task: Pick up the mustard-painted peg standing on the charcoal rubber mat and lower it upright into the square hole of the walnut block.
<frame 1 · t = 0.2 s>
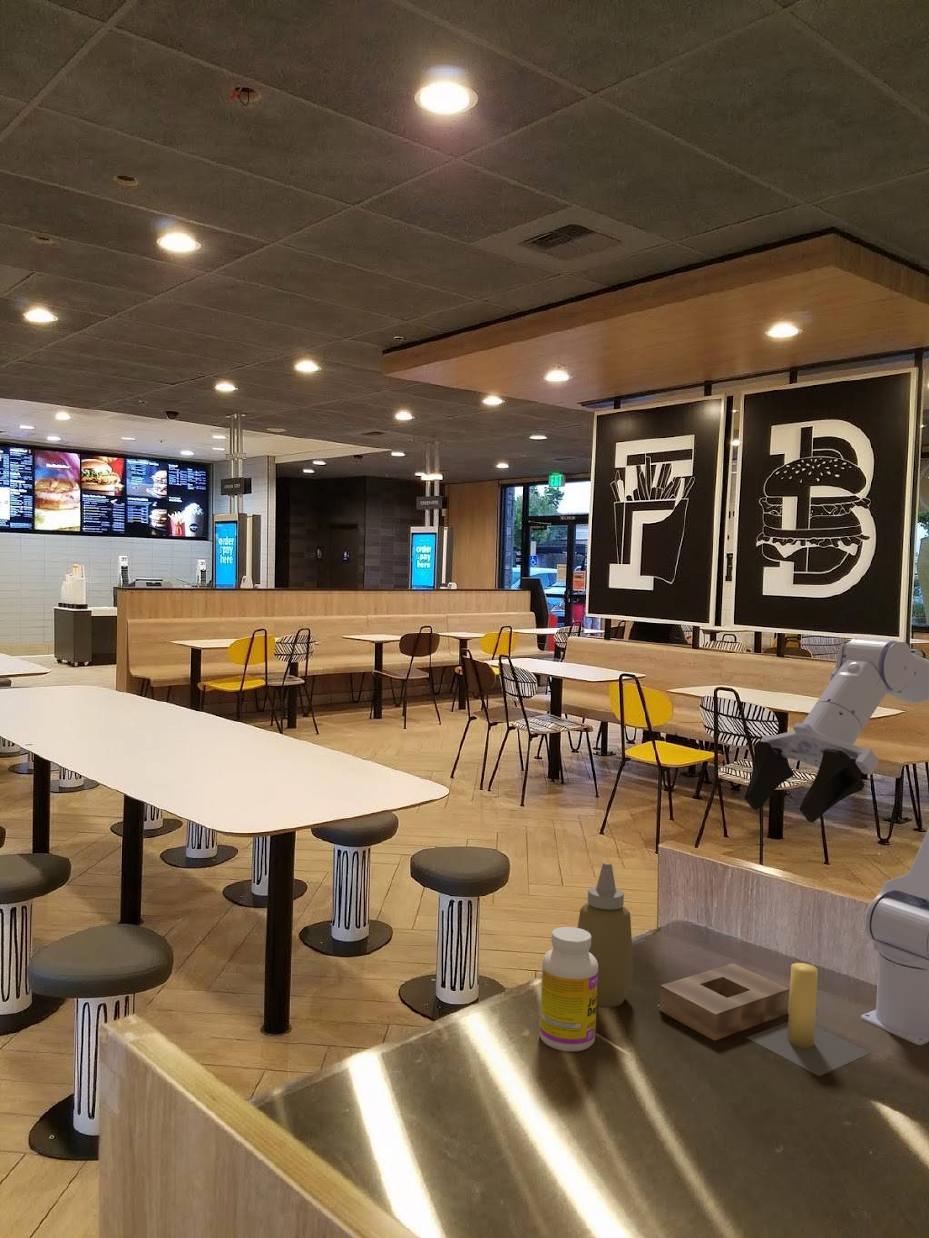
hand: (777, 809, 100), 31 cm above the table, tool tilted 45°, fingers open, 7 cm apart
squeeze bottle: (601, 1000, 121), on the table
supplement bottle: (566, 1041, 110), on the table
walnut block: (723, 1013, 118), on the table
peg: (800, 1041, 111), resting on mat
mat: (807, 1047, 110), on the table
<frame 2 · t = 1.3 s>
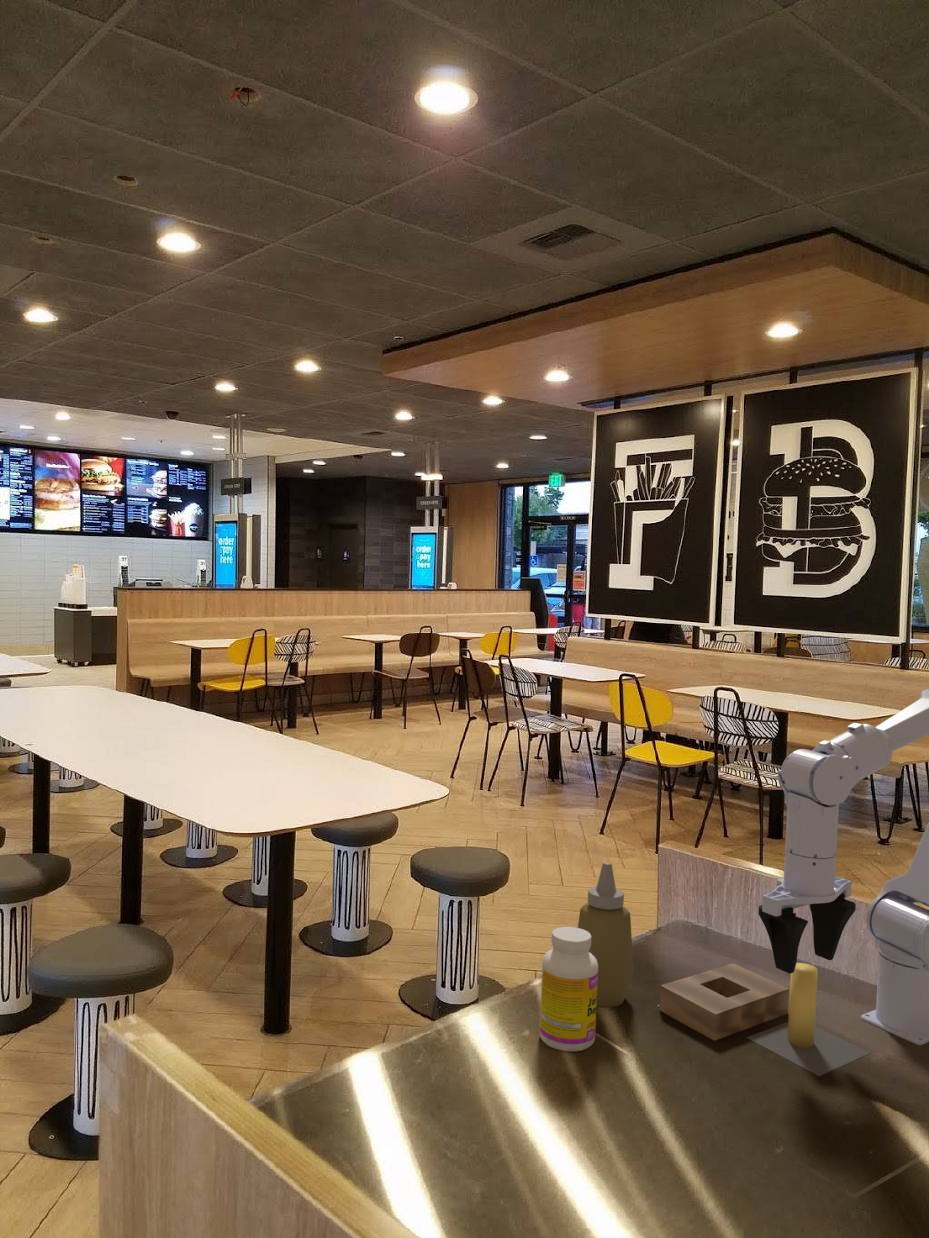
hand: (804, 963, 110), 10 cm above the table, tool pointing down, fingers open, 7 cm apart
nothing on the table moved.
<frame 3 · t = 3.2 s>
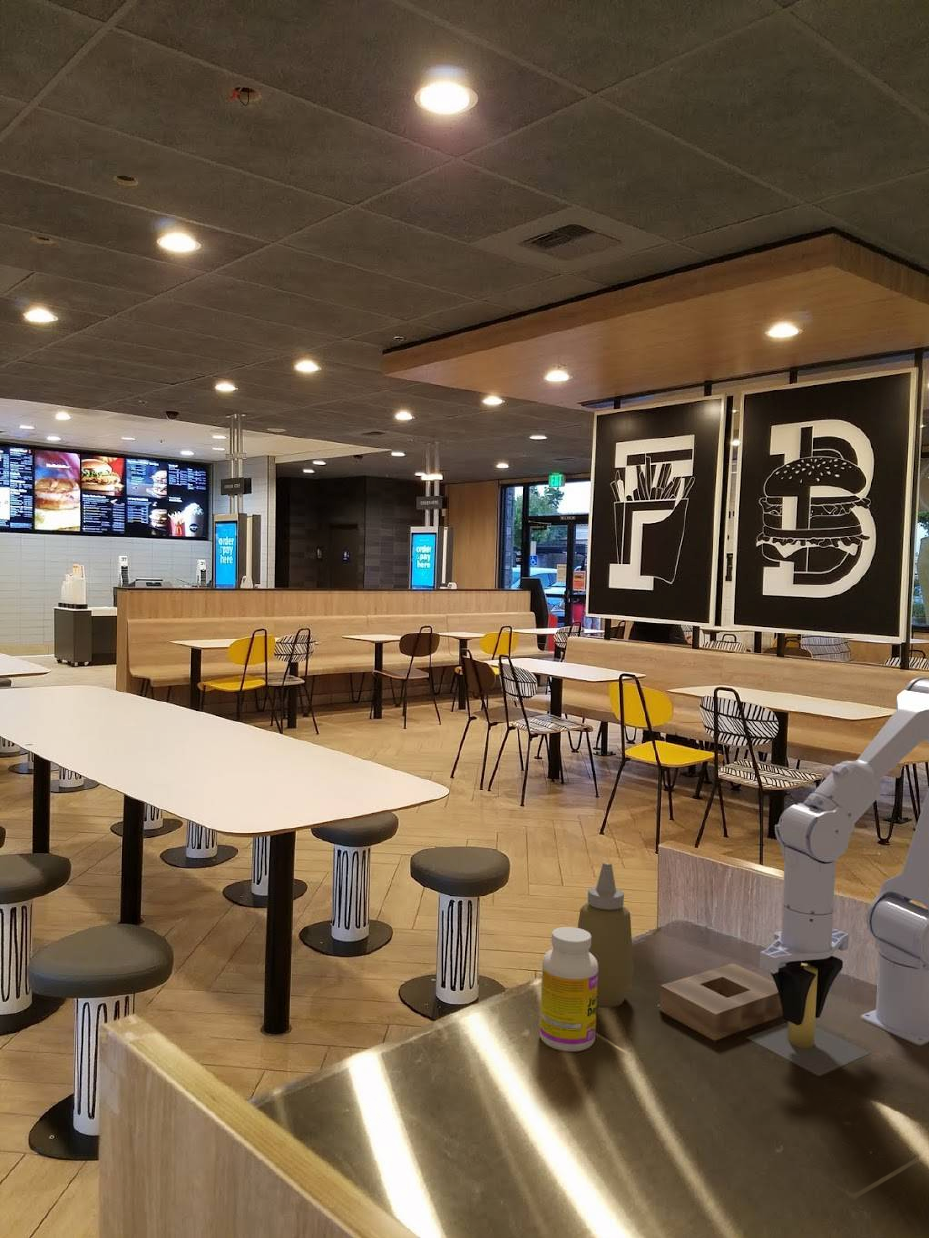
hand: (801, 1017, 110), 3 cm above the table, tool pointing down, fingers closed on peg, 3 cm apart
peg: (800, 1041, 111), resting on mat, touching gripper
everything else where it was.
when the fingers open (4 cm above the table, at t = 6.6 s): peg drops 1 cm, resting in walnut block.
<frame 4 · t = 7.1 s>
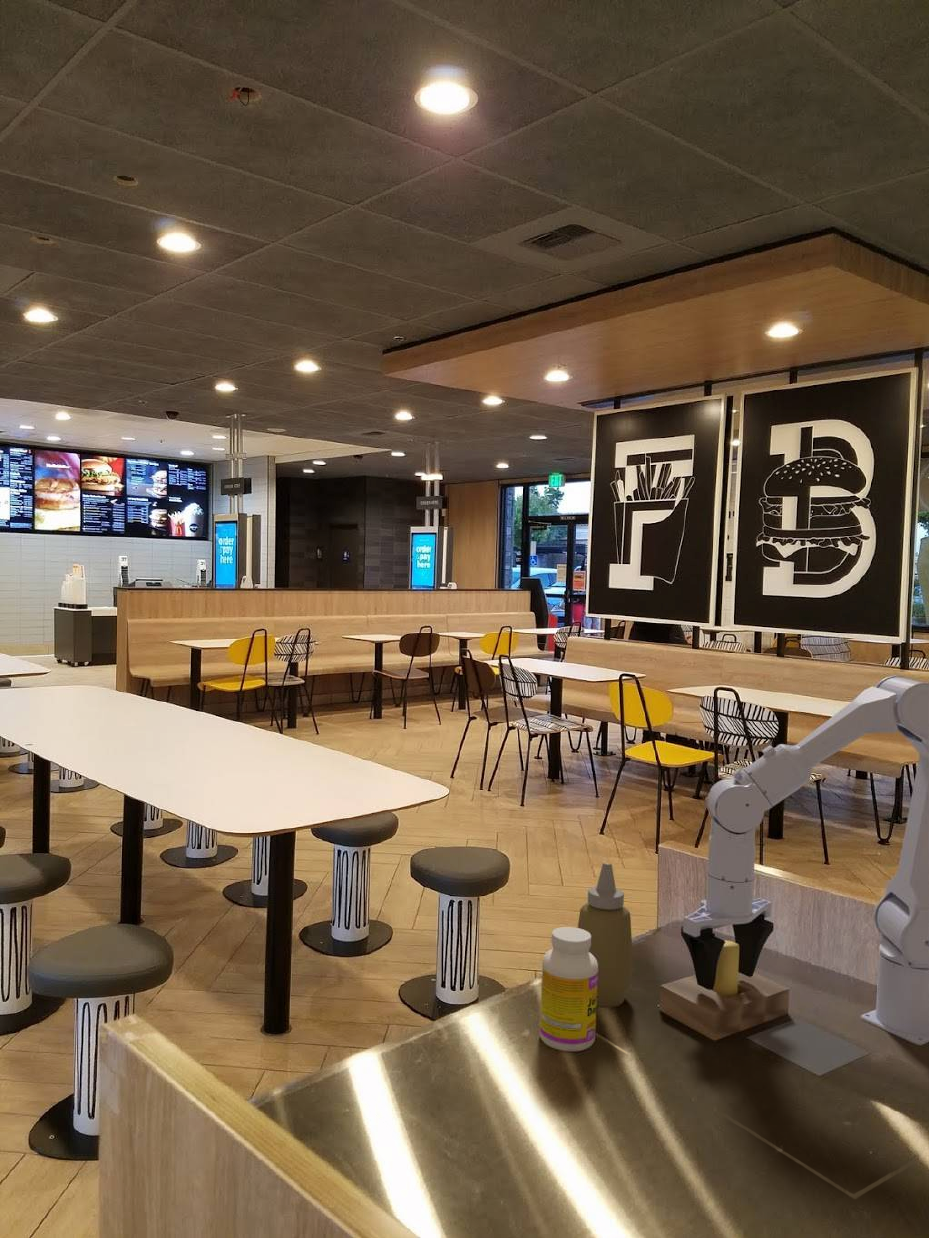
hand: (725, 980, 118), 4 cm above the table, tool pointing down, fingers open, 7 cm apart
peg: (724, 1014, 118), resting in walnut block
everything else where it was.
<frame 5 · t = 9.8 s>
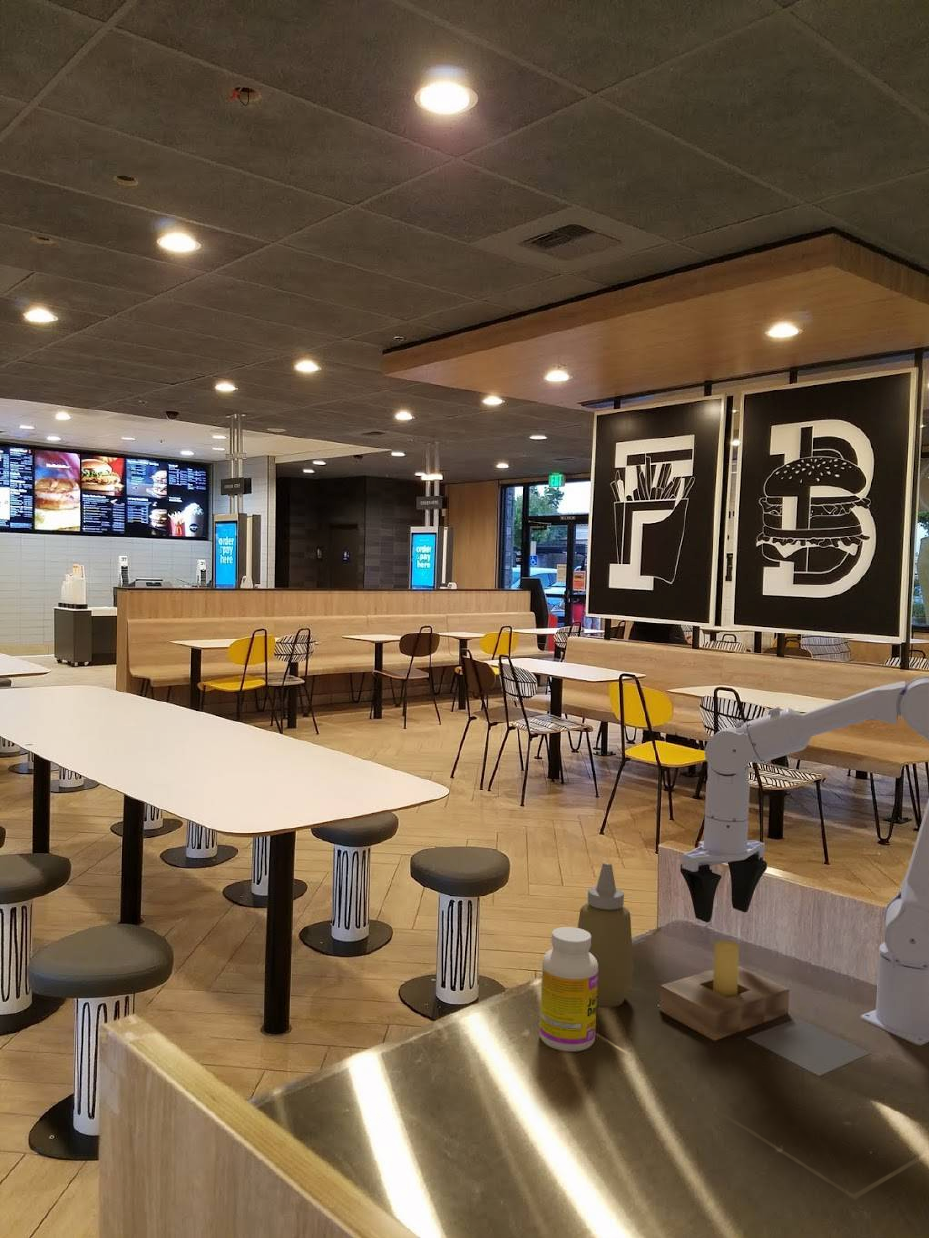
hand: (721, 914, 126), 10 cm above the table, tool pointing down, fingers open, 7 cm apart
nothing on the table moved.
at the end: peg 0.1 cm off-centre on the walnut block, point 0.0 cm above the walnut block's base; peg tilted 1°; the gripper is holding nothing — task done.
